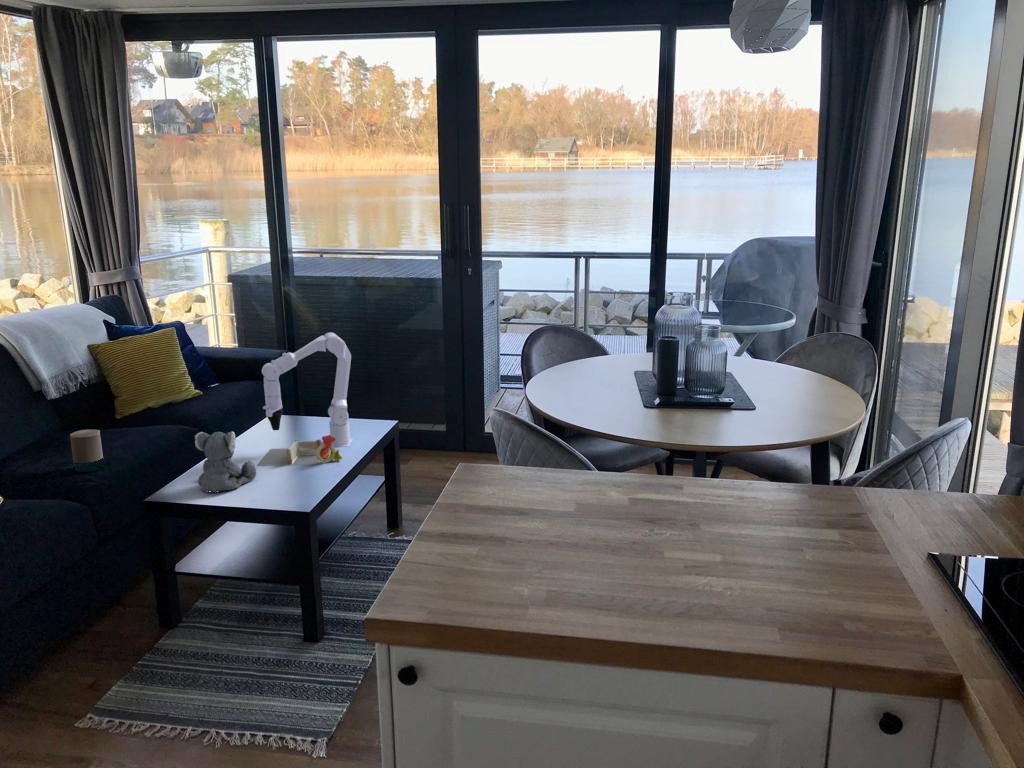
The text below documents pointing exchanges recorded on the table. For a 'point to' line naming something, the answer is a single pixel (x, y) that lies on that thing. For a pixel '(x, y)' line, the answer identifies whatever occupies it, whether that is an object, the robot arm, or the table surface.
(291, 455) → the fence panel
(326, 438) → the bird rattle
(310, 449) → the fence fixed section
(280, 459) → the board
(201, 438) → the koala plush
